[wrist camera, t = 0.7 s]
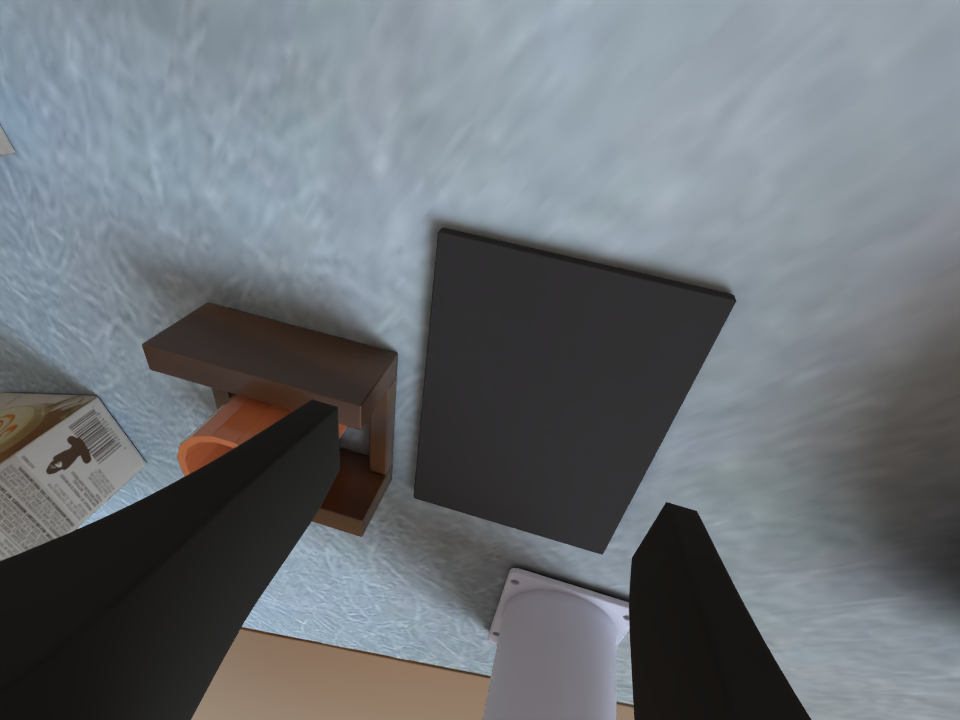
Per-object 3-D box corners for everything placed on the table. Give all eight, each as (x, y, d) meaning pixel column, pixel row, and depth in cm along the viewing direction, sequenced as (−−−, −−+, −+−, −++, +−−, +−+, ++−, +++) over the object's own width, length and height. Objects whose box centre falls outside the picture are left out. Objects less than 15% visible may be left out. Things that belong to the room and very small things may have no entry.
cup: (354, 445, 26) (295, 535, 22) (268, 420, 27) (192, 502, 22) (352, 371, 23) (283, 457, 19) (255, 345, 24) (164, 422, 19)
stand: (392, 479, 27) (362, 537, 24) (236, 433, 28) (188, 483, 25) (398, 352, 22) (360, 406, 19) (206, 301, 23) (140, 344, 20)
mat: (602, 547, 26) (602, 555, 26) (416, 491, 27) (413, 498, 27) (734, 294, 17) (737, 300, 16) (442, 226, 18) (437, 230, 18)
